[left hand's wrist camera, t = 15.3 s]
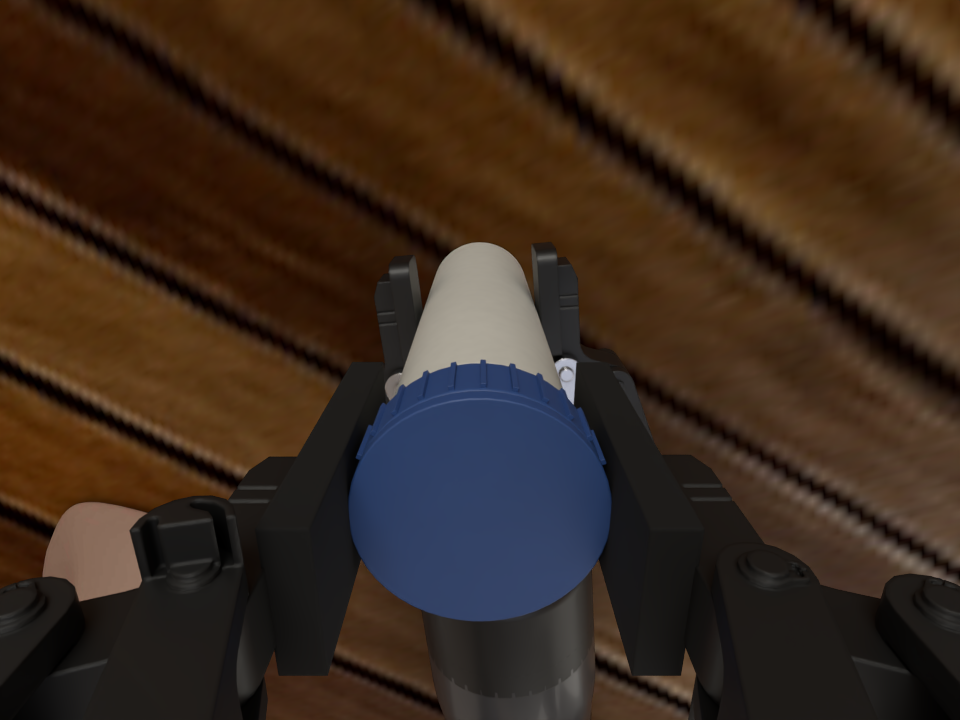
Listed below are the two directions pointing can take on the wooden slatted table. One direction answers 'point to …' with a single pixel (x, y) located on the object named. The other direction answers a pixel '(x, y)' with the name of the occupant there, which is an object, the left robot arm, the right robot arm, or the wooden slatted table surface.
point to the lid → (480, 493)
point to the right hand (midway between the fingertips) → (471, 255)
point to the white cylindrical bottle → (480, 317)
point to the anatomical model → (95, 549)
